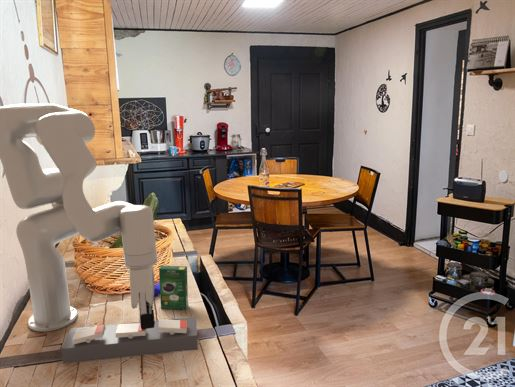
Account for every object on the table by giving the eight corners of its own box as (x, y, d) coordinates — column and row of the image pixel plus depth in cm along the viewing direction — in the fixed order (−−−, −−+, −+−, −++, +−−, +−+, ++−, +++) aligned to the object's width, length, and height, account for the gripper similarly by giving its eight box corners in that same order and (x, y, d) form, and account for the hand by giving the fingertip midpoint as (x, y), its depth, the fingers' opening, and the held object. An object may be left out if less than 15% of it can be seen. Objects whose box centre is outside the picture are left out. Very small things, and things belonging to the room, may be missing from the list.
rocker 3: (158, 325, 110) (159, 318, 110) (185, 326, 111) (186, 320, 111) (157, 333, 106) (158, 326, 106) (185, 335, 107) (186, 328, 107)
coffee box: (189, 305, 130) (187, 265, 127) (187, 310, 127) (185, 269, 124) (163, 304, 130) (160, 264, 127) (160, 309, 128) (157, 268, 124)
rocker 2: (118, 331, 108) (117, 324, 108) (146, 328, 110) (146, 322, 109) (115, 339, 105) (115, 332, 104) (145, 337, 106) (145, 330, 105)
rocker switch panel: (72, 342, 112) (70, 327, 111) (196, 330, 117) (196, 315, 116) (63, 363, 103) (60, 347, 102) (197, 349, 108) (197, 334, 107)
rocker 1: (77, 337, 107) (75, 330, 107) (106, 330, 108) (104, 323, 107) (74, 346, 103) (71, 339, 103) (103, 339, 104) (101, 332, 104)
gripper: (128, 247, 109) (135, 313, 114) (120, 271, 95) (129, 345, 99) (158, 245, 111) (164, 310, 115) (155, 267, 96) (162, 341, 100)
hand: (148, 326), depth 107 cm, fingers closed
